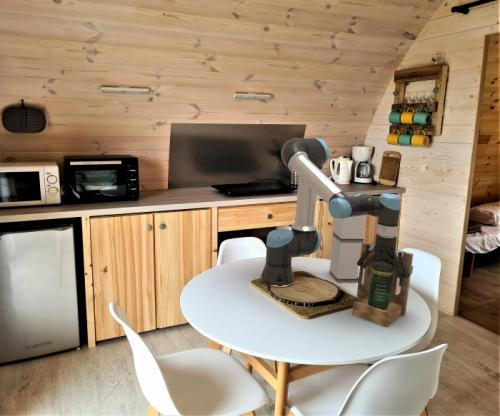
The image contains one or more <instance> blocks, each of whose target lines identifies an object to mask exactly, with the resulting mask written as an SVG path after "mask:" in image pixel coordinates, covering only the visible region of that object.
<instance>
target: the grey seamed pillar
mask: <svg viewBox="0 0 500 416" xmlns="http://www.w3.org/2000/svg"><path fill="white" fill-rule="evenodd" d="M333 220H334V221H333V226H332V227H333V228H332V229H333V230H332V240H331V251H330V252H331V253H330V263H329V273H328V274H329V276H330V277H332V278H331V279H333V280H334V281H335V282H336V283H337V284H344V283H345V284H355V283H356V284H358V280H359V268H360V266H359V265H357V262H358V260H359V259H360V258H361V249H362V243H364V242H365V241H364V240H365V231H366V230H365V229H366V222H367V215H362V216H354V217H348V218H343V219H341V218H338V219H337V218H334V217H333Z"/></svg>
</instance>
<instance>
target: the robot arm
mask: <svg viewBox="0 0 500 416" xmlns="http://www.w3.org/2000/svg"><path fill="white" fill-rule="evenodd" d="M280 150H281V151H280V156H281V159H282V162H283V164H284V165H285V167H287V169H288V170H289V171H290V172H295V173H296V174H297V175H298V184H297V195H296V198H297V199H296V208H295V209H296V210H295V222H294V223H292V224H291V229H287V228H278V229H274V230H271V231H270V232H269V233H267V237H266V242H265V243H266V250H265V251H266V253H265V264H264V267H263V270H262V273H261V275H260V281H262V282H263V283H262V282H261V283H262V284H264V283H265V284H267V285H266V286H268V285H278V286H283V285H289V284H291V283H293V282H294V283H295V276H294V272H293V267H292V262H293V261H292V260H293V258H297V257H303V256H310V255H312V254H314V253H316V252H317V251H318V250H319V248H320V247H321V242H322V239H321V236H320V232H319V231H318V230H317V226H316V225H315V215H316V205H317V204H316V203H317V196H319V198H321V199H322V200H323V201H324V202H325V203H326V204H327V205H328V206H327V207H328V212H329V215H330V216H331V217H332V218H333V219H334V218H337V219H338V218H341V219H343V218H348V217H354V216H362V215H366V216H371V217H374V218H377V223H376V231H375V233H376V234H375V242H374V245H375V246H374V245H372V244H373V243H370V242H369V243H370V244H368V245H367V246H366V250H365V252H364V253H363V255H362V256H361V255H360V257H359V260H358V262H357V265H359V268H360V267H361V275H362V285H364V284H366V281H367V272H368V267H366V266H367V265H368V264H369V263H371V262H372V261H373V260H374V259H375V258H377V257H378V258H379V259H384V260H386V261H387V260H389V262H390V263H391V264H392V266H393V267H394V269H395V271H396V272H397V274H398V276H399V277H398V278H397V285H396V293H395V295H398V294H399V293H400V289H401V287H402V286H403V285H404V278H408V277H410V278H411V276H410V273H409V270H408V267H407V264H406V261H405V259H404V252H405V251H403V250H400V251H396V250H397V248H396V247H397V239H398V238H397V236H398V232H399V231H398V230H399V220H400V215H401V209H402V197H401V196H400V195H398V194H395V193H382V194H381V195H380V196H379V197H378V196H375V195H370V194H367V193H357V194H355V195H354V196H348V194H346V193H345V192H344V191H343V190H342V189H341V188H340V187H339V186H338V185H337V184H336V183H335V182H334V181H332V180H331V179H330V178H329V177H328V176H327V175H326V174H325V173H324V172H323V168H324V167H323V165H324V164H326V163H327V161H329V158H330V149H329V146H328V144H327V143H326V141H325V140H324V139H321V138H317V137H316V138H315V137H299V138H298V137H294V138H291V139H288V140H286V142H284V144H283V146H282V148H281V149H280ZM372 249H374V251H375V254H374V255H373V256H372V257H371V258H369V259H368V260H367V261H366V262H365V263H363V261H364V260H365V258H366V257H367V255H368V254H369V252H370V251H371V250H372ZM395 254H396V255H397V257H398V259H399V262H400V265H401V268H402V269H401V268H400V266H399V264H398V263H397V261H396V258H395V257H394V255H395ZM265 284H264V285H265Z"/></svg>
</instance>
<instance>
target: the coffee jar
mask: <svg viewBox="0 0 500 416" xmlns="http://www.w3.org/2000/svg"><path fill="white" fill-rule="evenodd" d="M393 271H394V267H393V266H392V264H391V263H390V262H389V260H387V261H386V260H384V259H379V258H376V259H375V260H374V261H373V266H372V274H371V282H370V290H369V297H368V305H369V306H372V307H375V308H378V309H387V308H388V306H389V300H390V293H391V287H392V280H393Z"/></svg>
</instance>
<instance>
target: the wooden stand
mask: <svg viewBox="0 0 500 416" xmlns="http://www.w3.org/2000/svg"><path fill="white" fill-rule="evenodd" d="M368 244H370V242H365V241H364V242H363V243H362V246H361V250H360V257H361V256H362V255H363V253H364V252H365V250H366V246H367V245H368ZM371 244H372V245H374V246H375V243H371ZM396 251H401V250H399V249H396ZM374 254H375V251H374V249H372V250H371V251H370V252H369V254H368V255H367V257H366V258H365V260H364V261H363V263H365V262H366V261H367V260H368V259H369V258H371V257H372V256H373V255H374ZM394 257H395V258H396V261H397V263H398V264H399V266H400V268H401V265H400V262H399V259H398V257H397V255H396V254H395V255H394ZM377 258H378V257H377ZM413 258H414V253H413V252H412V253H411V252H408V251H404V259H405V261H406V264H407V267H408V270H409V273H410V277H408V278H404V285H403V286H402V287H401V289H400V293H399V294H398V295H395V293H396V285H397V278H398V277H399V276H398V274H397V272H396V271H395V269H394V271H393V280H392V287H391V293H390V300H389V306H388V308H387V309H378V308H375V307H372V306H369V305H368V297H369V290H370V282H371V274H372V266H373V261H374V260H375V259H376V258H375V259H374V260H373V261H372V262H371V263H369V264H368V265H367V266H366V267H368V272H367V281H366V284H364V285H362V275H361V267H360V266H359V269H358V277H359V280H358V283H357V290H356V291H357V292H356V300H357V299H358V300H360V301H356V300H354V301H353V303H352V311H351V312H352V313H351V314H352V316H354V317H355V318H356V317H357V318H358V319H359V318H360V319H362V320H366V321H368V322H371V323H373V324H376V325H379V326H383V327H386V328H388V327H390V326H391V324H393V323H394V322H395V321H396V320H397V319H399V318H400V317H401V316H402V315H403V317H404V316H405V315H406V313H407V305H408V298H409V290H410V283H411V275H412V274H413V270H414V266H413V261H414V260H413ZM401 269H402V268H401ZM399 316H400V317H399Z"/></svg>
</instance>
